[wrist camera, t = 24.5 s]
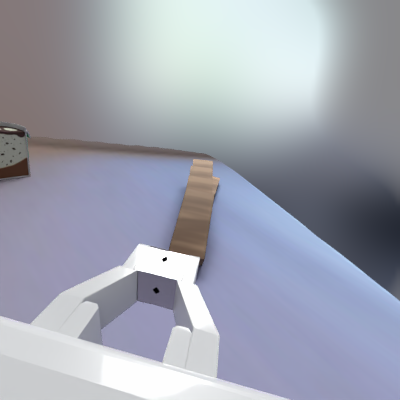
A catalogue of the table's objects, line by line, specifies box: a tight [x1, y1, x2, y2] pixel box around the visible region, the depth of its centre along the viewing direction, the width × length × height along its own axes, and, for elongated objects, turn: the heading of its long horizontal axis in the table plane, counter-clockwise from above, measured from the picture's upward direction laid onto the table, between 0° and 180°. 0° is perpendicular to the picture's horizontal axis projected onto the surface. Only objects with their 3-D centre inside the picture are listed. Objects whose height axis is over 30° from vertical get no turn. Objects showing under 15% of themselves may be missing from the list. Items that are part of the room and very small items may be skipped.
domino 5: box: [212, 176, 220, 197], centre depth 52 cm, size 2×5×12 cm
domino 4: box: [169, 188, 214, 265], centre depth 31 cm, size 2×5×12 cm
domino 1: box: [193, 159, 213, 172], centre depth 47 cm, size 2×5×12 cm
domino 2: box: [190, 166, 212, 179], centre depth 42 cm, size 2×5×12 cm
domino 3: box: [187, 175, 213, 193], centre depth 36 cm, size 2×5×12 cm
